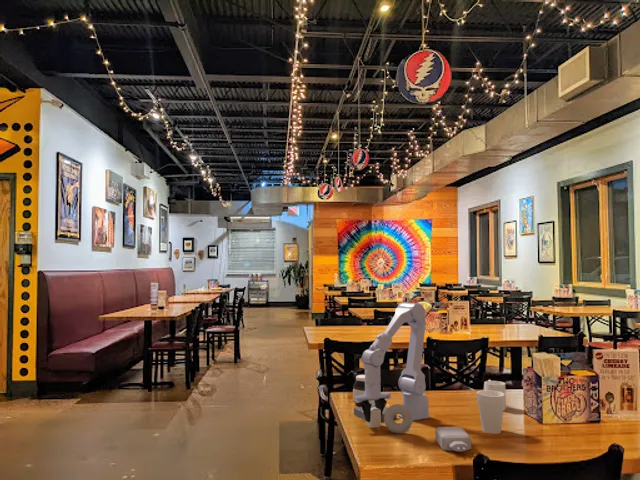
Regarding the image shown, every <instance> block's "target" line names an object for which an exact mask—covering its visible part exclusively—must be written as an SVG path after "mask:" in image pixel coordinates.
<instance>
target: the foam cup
mask: <svg viewBox="0 0 640 480" xmlns="http://www.w3.org/2000/svg"><path fill="white" fill-rule="evenodd" d="M476 400H477V406H478V411H479V417H480V424H481V425H480V426H481V429H482V432H483V433H487V434H491V435H492V434H493V435H494V434H495V435H496V434H500V433H502V426H503V417H504V410H503V408H504V402H505V397H504V393H502V392H498V391H491V390H485V389H483V390H478V391H476Z"/></svg>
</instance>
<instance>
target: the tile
mask: <svg viewBox="0 0 640 480" xmlns="http://www.w3.org/2000/svg"><path fill="white" fill-rule="evenodd" d="M373 407H375V405H372V406H371V408H373ZM388 408H389V407H386V406H385V407H384V410H383V413H382V416H381V422H382V421H384V414H385V412H386V410H387V409H388ZM353 415H354V416H356V417H358V418H360V419H363V420H364V421H366V420H365V415H364V412H363V409H362V407H361V406H359V407H354V408H353ZM397 416H398V414H396V415H395V416H394V418H393V419H394V420H395V419H397Z"/></svg>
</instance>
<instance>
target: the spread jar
mask: <svg viewBox="0 0 640 480" xmlns="http://www.w3.org/2000/svg"><path fill="white" fill-rule="evenodd" d="M355 379H356V380H355V382H354V383H353V386H352V388H353V389H352V394H353V395H352V399H353V402H354V403H355V404H356V405H357V406H359V407H361V405H360V403H356V402H355V396H360V395H363V394H365V374H358V375H356V377H355ZM369 403H370V404H372V405H375V402H374V400H372V401H369Z"/></svg>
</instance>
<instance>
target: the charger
mask: <svg viewBox="0 0 640 480" xmlns="http://www.w3.org/2000/svg"><path fill="white" fill-rule="evenodd" d="M434 436H435V438H434V439H435V441H436V442H437V444H438V445H439V446H440V447H441V449H442V450H443V451H448V452H449V451H452V452H466V451H469V450H471V449H472V437H471V435H469V434H468V432H466V431H465V429H464V428H462V427H461V426H438V427H436V428H435V433H434Z"/></svg>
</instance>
